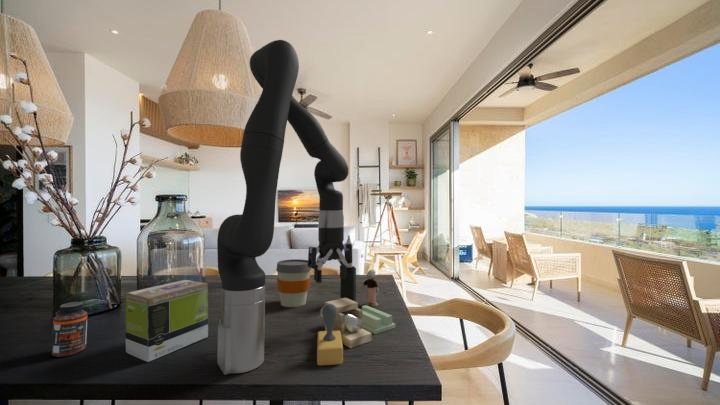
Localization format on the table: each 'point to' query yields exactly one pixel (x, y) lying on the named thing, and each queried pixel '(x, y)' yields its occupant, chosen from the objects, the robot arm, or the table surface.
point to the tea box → (165, 318)
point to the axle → (349, 321)
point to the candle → (349, 280)
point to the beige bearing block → (339, 324)
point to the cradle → (376, 320)
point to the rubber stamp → (329, 340)
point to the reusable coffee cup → (293, 282)
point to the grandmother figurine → (371, 288)
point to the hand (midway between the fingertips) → (330, 280)
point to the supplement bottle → (69, 330)
